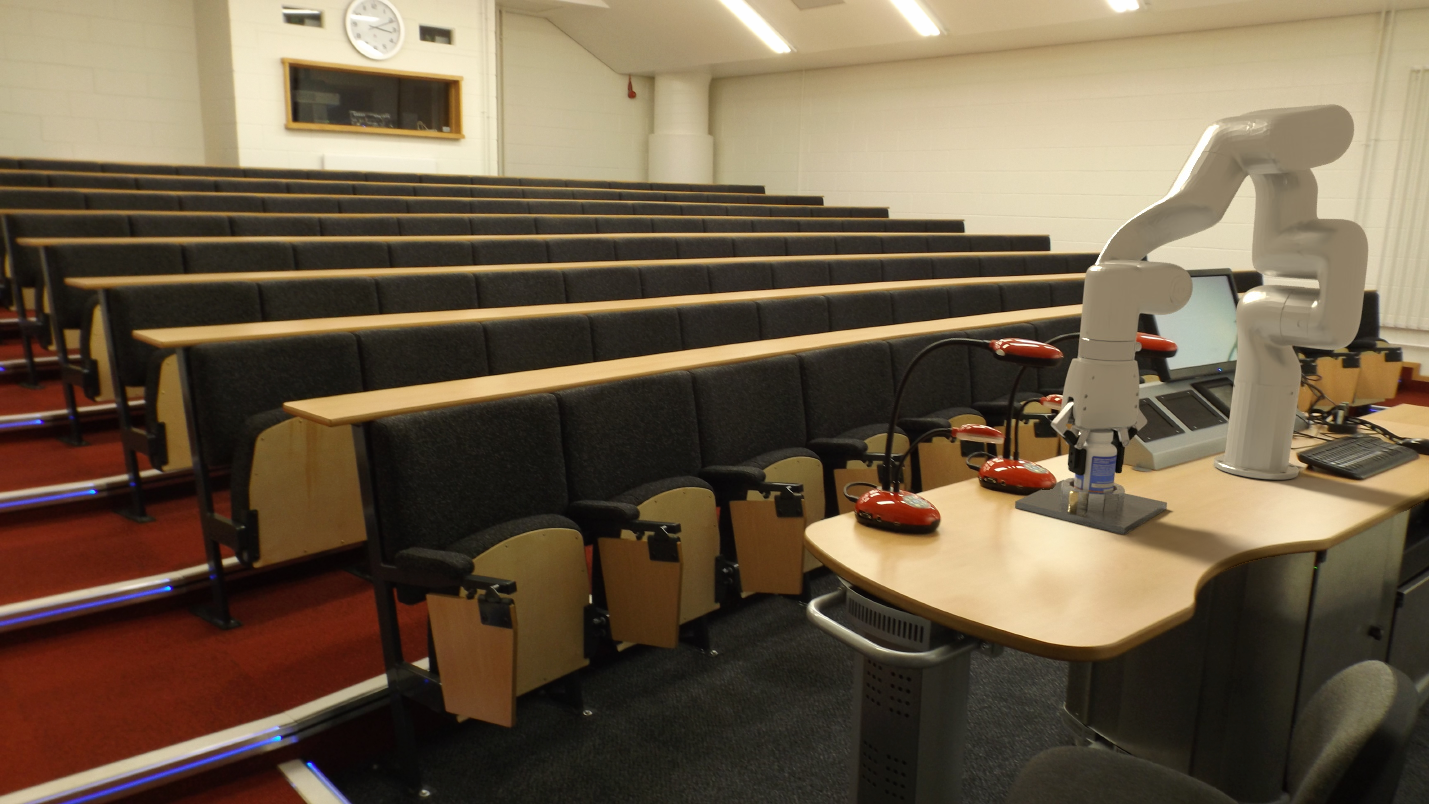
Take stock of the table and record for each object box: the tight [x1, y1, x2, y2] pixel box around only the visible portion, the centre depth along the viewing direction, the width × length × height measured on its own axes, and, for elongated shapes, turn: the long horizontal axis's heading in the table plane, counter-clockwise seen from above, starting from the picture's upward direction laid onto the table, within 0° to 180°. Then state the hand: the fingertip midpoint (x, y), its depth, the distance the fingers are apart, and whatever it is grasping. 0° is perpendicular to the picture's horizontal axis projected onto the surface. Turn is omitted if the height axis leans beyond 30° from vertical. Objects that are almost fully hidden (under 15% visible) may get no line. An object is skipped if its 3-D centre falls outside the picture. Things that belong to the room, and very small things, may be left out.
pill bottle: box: [1074, 429, 1117, 493], centre depth 135 cm, size 5×5×10 cm
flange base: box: [1014, 477, 1168, 536], centre depth 136 cm, size 16×16×4 cm
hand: (1094, 470), depth 135 cm, fingers closed on pill bottle, 5 cm apart
